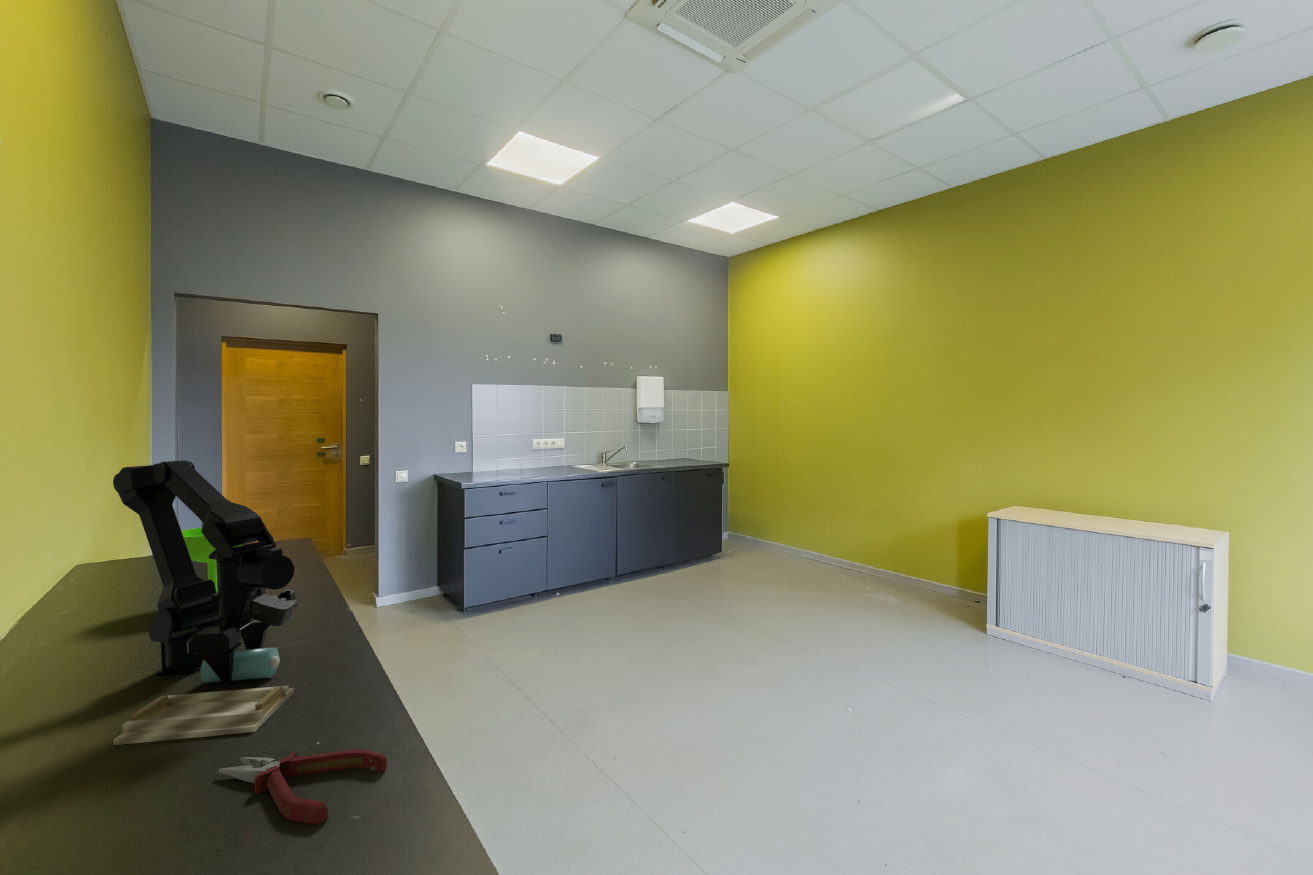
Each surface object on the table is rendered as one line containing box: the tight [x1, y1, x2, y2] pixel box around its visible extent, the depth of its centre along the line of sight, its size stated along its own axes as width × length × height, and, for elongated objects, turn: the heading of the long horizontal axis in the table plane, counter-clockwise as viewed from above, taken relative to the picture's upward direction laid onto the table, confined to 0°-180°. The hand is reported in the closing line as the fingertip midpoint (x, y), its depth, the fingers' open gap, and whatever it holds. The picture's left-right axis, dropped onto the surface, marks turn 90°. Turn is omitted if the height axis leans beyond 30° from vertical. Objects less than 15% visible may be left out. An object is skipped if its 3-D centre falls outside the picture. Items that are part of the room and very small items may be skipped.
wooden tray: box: [113, 685, 295, 746], centre depth 87 cm, size 18×12×3 cm, turn 99°
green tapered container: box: [181, 526, 242, 593], centre depth 145 cm, size 16×16×18 cm
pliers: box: [217, 749, 388, 825], centre depth 70 cm, size 12×20×3 cm, turn 75°
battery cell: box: [199, 647, 281, 684], centre depth 100 cm, size 11×5×5 cm, turn 99°
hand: (241, 671), depth 100 cm, fingers open, 8 cm apart
